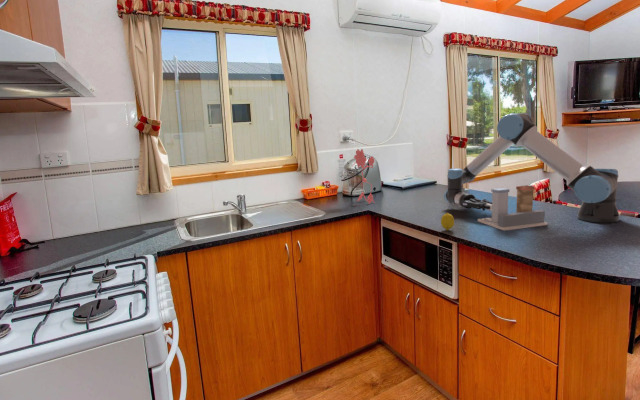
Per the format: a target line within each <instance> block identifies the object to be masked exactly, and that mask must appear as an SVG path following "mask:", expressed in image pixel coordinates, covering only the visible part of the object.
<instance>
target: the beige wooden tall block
mask: <svg viewBox="0 0 640 400" xmlns="http://www.w3.org/2000/svg"><path fill="white" fill-rule="evenodd" d="M515 187H516V188H515V190H516V209H515V211H516V212H515V213H519V212H527V211H533V204H534V203H533V201H534V190H535V188H536V187H535V186H532V185H518V186H515Z"/></svg>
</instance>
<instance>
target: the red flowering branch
mask: <svg viewBox="0 0 640 400" xmlns="http://www.w3.org/2000/svg"><path fill="white" fill-rule="evenodd" d="M353 158H354V160H355V162H354V163H353V164H352V166H354V165H355V164H356V166H357V168H360V167H361V174H362V180H361V181H362V182H361V185H363V183H367V184H369V185H371V186H370V190H372V189H373V184H371V183H370V182H368V181H367V180H368V179H367V178H365V176H364V170H365V169H367V168H372V169H374V163H375V158H374V156H370V157H369V159H368V158H367V157H365V153H364V150H363V148H361V149H359V148H357V149H356V150H355V155H354V156H353ZM367 159H368V165H367V163H366V162H367ZM363 198H364V200H365V202H367V203H368V205H370V204H371V203H372V202H373V203H374V204H375V203H376V202H375V201H374V196H373V194H372V191H370V194H369V195H368V196H367V198H366V196H365V192H363V190H361V194H359V196H358V199H357V201H360V200H362V199H363ZM351 205H352V206H353V204H351ZM354 206H355V207H357V206H358V205H355V204H354Z"/></svg>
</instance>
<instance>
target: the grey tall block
mask: <svg viewBox="0 0 640 400" xmlns="http://www.w3.org/2000/svg"><path fill="white" fill-rule="evenodd" d="M490 190H491V192H492V193H491V195H492V197H491V202H492V211H491V218H492V221H493V222H496V223H498V219H499V215H502V214H509V213H508V211H509V210H508V207H509V193H510V189H509V188H504V187H498V188H491V189H490Z"/></svg>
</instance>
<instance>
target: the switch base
mask: <svg viewBox="0 0 640 400" xmlns="http://www.w3.org/2000/svg"><path fill="white" fill-rule="evenodd" d="M545 214H546V211H545V210H543V209H542V210H541V209H537V210H536V209H535V210H532V211H527V212H519V213H516V212H511V213H508V214H502V215H499V219H498V223H496V222H493V221H492V217H485V218H477V222H478V223H481V224H483V225H484V224H485V225H487V226H490V227H493V228H496V229H498V230H501V231H512V230H519V229H525V228H526V229H527V228H534V227H535V228H536V227H541V226H547V225H548V222H546V221H545V218H546V217H545V216H546V215H545Z"/></svg>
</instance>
